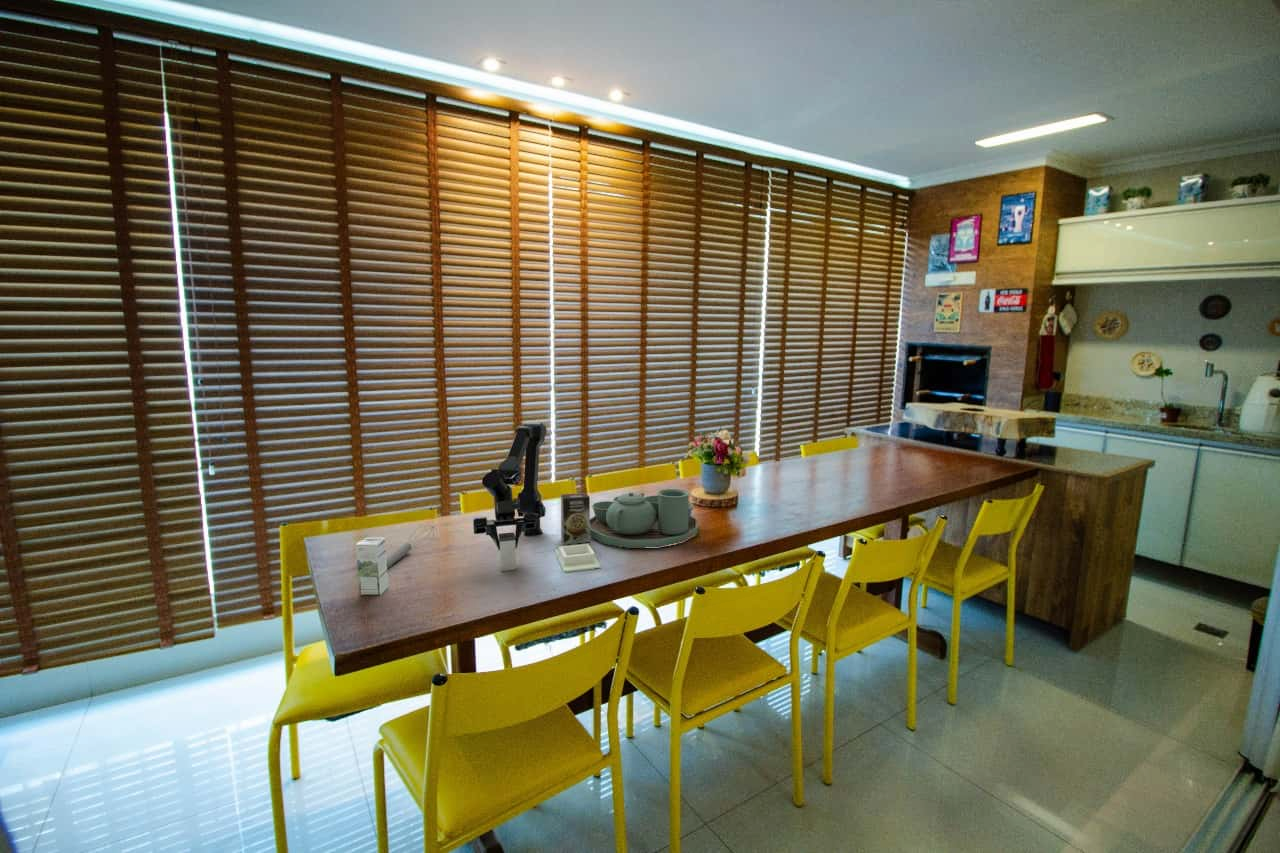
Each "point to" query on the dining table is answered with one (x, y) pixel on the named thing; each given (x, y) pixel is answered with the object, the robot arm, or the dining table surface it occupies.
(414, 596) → the dining table surface
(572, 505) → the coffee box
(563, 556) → the collar holder
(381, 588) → the syrup box
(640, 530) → the tea set
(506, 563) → the grey tall block
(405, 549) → the kitchen whisk
